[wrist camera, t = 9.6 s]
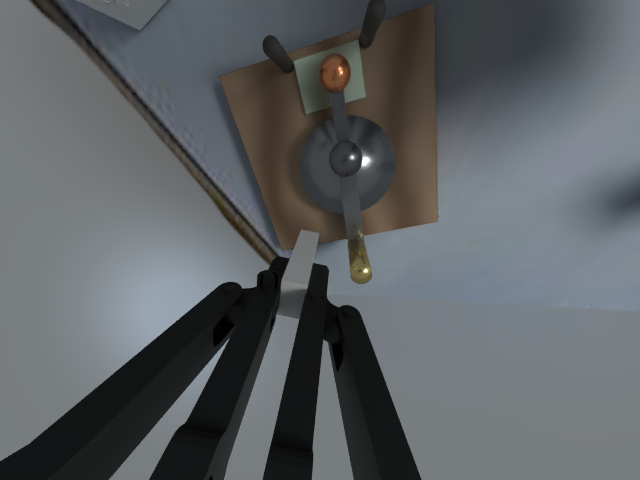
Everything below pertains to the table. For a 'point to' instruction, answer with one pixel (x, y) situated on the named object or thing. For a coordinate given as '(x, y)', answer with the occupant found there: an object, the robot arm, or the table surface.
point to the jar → (127, 10)
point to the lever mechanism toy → (360, 99)
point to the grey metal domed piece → (347, 163)
